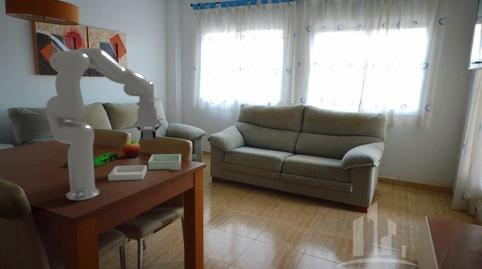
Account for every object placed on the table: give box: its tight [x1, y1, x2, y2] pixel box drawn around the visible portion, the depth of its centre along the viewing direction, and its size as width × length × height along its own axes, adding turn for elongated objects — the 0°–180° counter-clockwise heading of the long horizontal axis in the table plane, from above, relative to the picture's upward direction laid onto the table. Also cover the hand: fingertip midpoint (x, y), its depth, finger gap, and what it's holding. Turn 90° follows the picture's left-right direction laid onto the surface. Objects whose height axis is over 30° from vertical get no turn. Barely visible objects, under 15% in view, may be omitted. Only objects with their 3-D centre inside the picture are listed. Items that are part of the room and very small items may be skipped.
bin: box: [147, 153, 182, 171], centre depth 179 cm, size 17×17×5 cm
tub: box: [107, 164, 148, 181], centre depth 159 cm, size 16×16×4 cm
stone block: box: [142, 128, 154, 141], centre depth 166 cm, size 5×5×5 cm
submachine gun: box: [62, 152, 120, 168], centre depth 183 cm, size 5×29×25 cm
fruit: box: [122, 140, 142, 158], centre depth 199 cm, size 11×11×10 cm
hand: (148, 138), depth 167 cm, fingers closed on stone block, 5 cm apart
